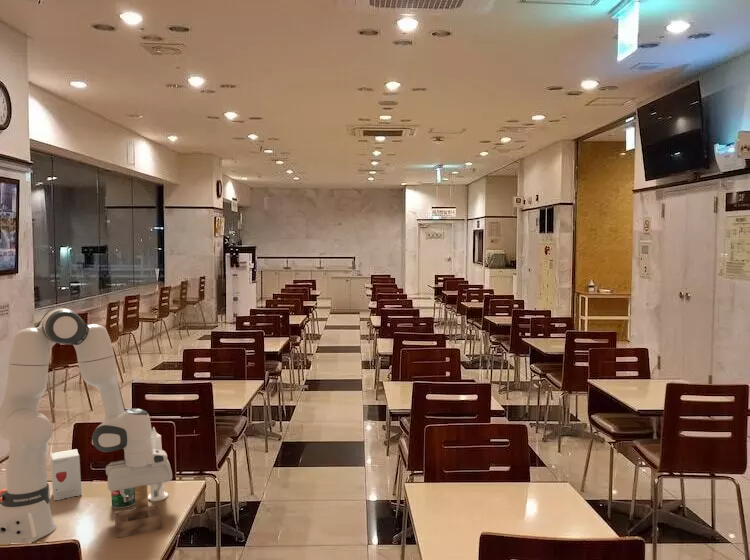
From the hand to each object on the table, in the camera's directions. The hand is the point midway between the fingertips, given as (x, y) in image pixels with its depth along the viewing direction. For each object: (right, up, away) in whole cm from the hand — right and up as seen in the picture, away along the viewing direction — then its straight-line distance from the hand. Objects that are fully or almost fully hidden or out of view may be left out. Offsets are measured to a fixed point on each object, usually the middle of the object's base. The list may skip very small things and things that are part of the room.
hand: (141, 498), depth 219 cm
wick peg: (0, -4, 0) cm, 4 cm away
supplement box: (-33, -5, +17) cm, 37 cm away
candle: (+2, -4, +12) cm, 12 cm away
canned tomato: (-8, -4, +7) cm, 12 cm away
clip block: (+3, -5, -11) cm, 12 cm away
